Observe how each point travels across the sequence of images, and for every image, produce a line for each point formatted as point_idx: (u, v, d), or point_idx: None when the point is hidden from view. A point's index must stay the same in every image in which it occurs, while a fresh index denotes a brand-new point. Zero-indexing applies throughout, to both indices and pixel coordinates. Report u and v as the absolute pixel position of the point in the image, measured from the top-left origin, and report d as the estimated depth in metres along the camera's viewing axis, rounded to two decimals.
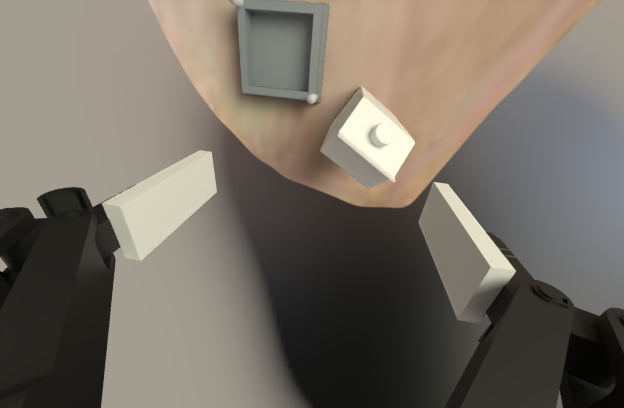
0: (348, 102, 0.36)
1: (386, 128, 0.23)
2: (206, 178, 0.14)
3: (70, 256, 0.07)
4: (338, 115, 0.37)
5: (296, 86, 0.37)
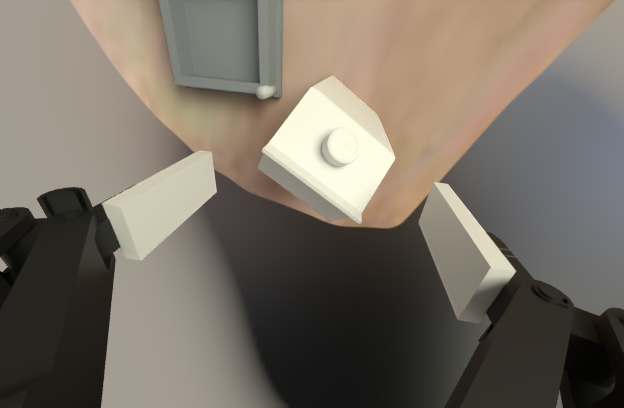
0: None
1: (345, 137, 0.14)
2: (206, 178, 0.14)
3: (70, 256, 0.07)
4: None
5: (248, 76, 0.28)
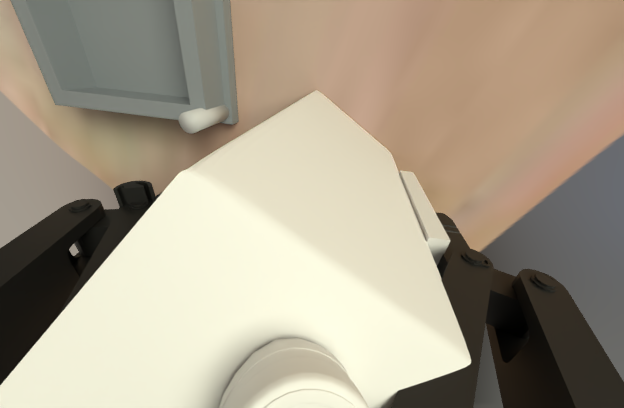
0: None
1: None
2: None
3: None
4: None
5: (179, 90, 0.17)
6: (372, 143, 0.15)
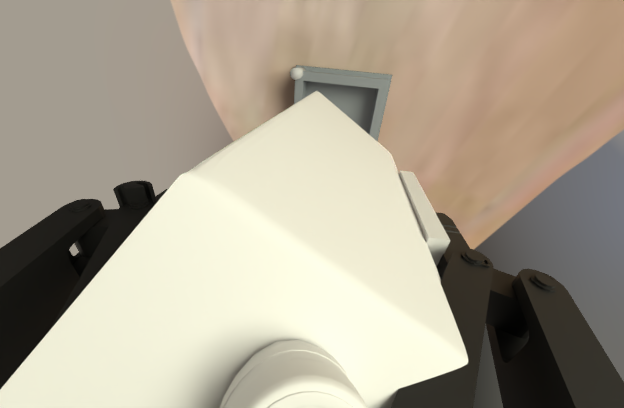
0: None
1: None
2: None
3: None
4: None
5: None
6: (372, 144, 0.16)
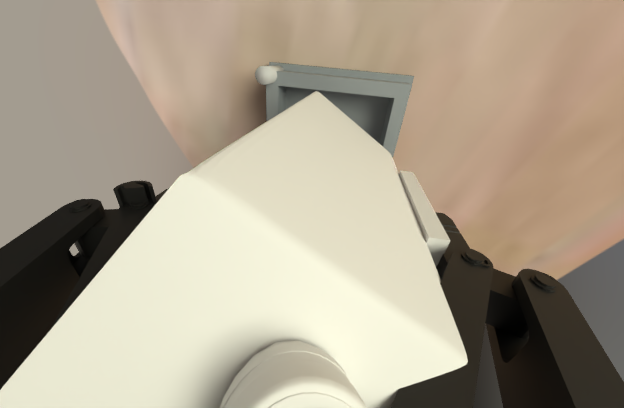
0: None
1: None
2: None
3: None
4: None
5: None
6: (372, 144, 0.16)
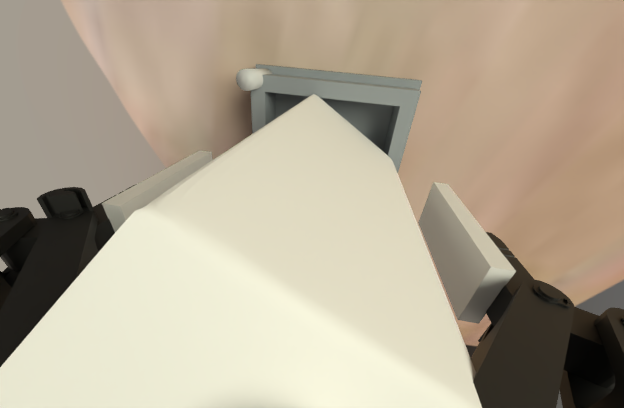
0: None
1: None
2: None
3: (70, 256, 0.07)
4: None
5: None
6: (372, 150, 0.15)
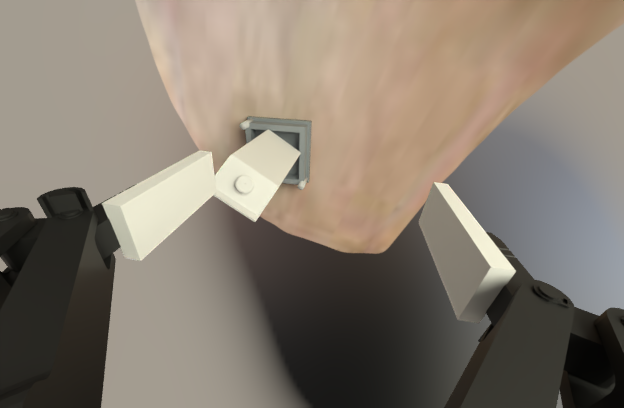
0: None
1: (245, 180, 0.29)
2: (206, 178, 0.14)
3: (70, 256, 0.07)
4: None
5: (290, 172, 0.49)
6: (288, 149, 0.41)
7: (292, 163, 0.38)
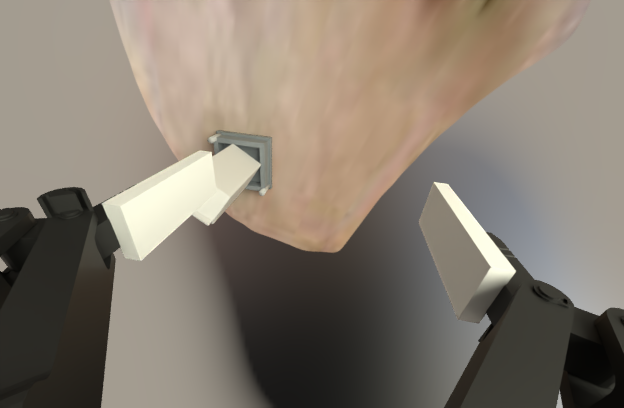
0: None
1: None
2: (206, 178, 0.14)
3: (70, 256, 0.07)
4: None
5: (254, 179, 0.56)
6: (249, 161, 0.48)
7: (249, 175, 0.45)
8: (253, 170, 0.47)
